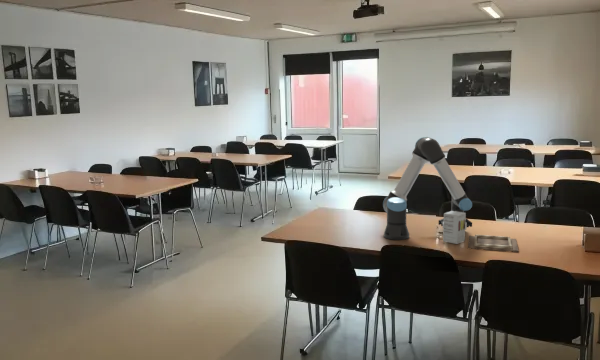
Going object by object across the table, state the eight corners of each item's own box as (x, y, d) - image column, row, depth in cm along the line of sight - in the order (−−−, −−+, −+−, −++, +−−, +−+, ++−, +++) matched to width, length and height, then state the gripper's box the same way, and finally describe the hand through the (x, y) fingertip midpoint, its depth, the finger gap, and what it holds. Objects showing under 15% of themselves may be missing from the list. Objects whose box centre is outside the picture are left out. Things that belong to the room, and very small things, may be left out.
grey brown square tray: (467, 248, 284) (467, 244, 284) (469, 237, 306) (469, 233, 306) (518, 252, 275) (518, 247, 275) (515, 240, 298) (516, 236, 297)
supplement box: (457, 244, 289) (458, 215, 286) (442, 241, 296) (443, 213, 293) (465, 240, 296) (466, 212, 293) (450, 238, 302) (451, 210, 300)
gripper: (476, 225, 310) (476, 234, 289) (436, 222, 318) (432, 231, 298) (477, 213, 308) (476, 221, 288) (436, 211, 317) (433, 218, 296)
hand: (454, 226), depth 293 cm, fingers closed on supplement box, 12 cm apart
